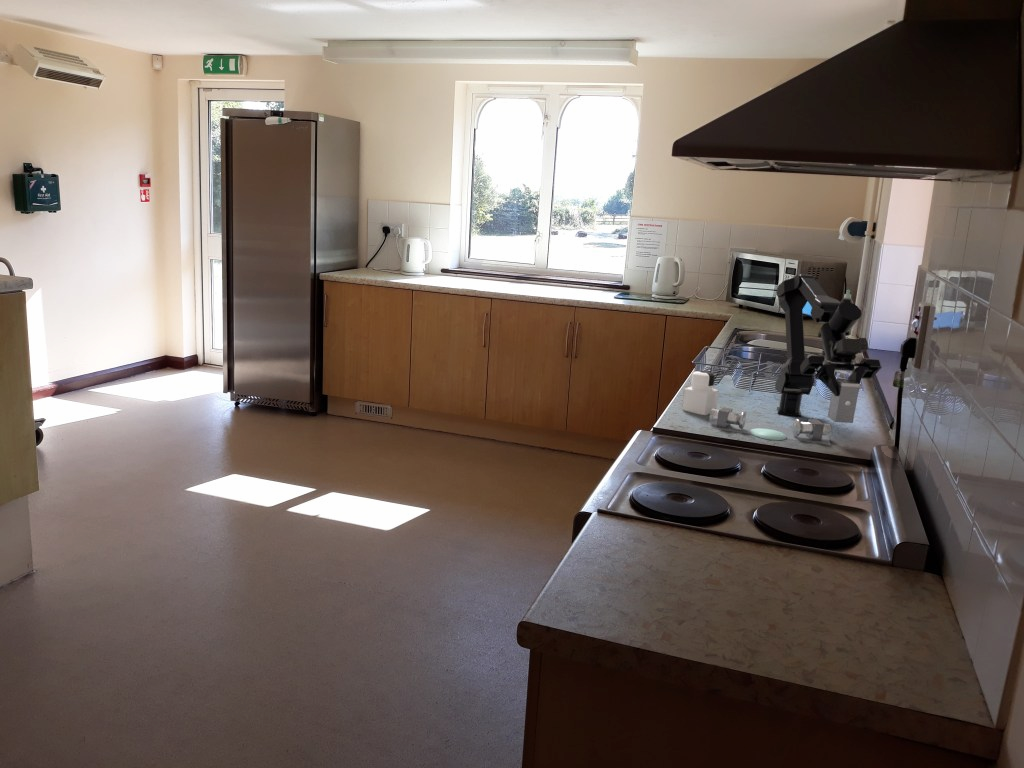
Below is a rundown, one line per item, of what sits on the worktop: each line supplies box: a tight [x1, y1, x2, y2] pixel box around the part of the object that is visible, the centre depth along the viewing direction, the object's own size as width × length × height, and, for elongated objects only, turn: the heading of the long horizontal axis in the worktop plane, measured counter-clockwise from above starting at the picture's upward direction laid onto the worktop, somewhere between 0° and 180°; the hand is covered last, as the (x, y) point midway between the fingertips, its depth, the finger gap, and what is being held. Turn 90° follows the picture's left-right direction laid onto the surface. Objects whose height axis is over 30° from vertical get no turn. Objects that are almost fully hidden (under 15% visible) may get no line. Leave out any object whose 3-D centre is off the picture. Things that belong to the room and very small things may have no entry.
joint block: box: [827, 378, 861, 424], centre depth 204 cm, size 5×5×10 cm
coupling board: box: [707, 417, 832, 446], centre depth 211 cm, size 14×30×1 cm, turn 75°
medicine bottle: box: [681, 370, 719, 416], centre depth 227 cm, size 7×7×12 cm
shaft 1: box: [709, 406, 747, 429], centre depth 213 cm, size 8×5×5 cm, turn 60°
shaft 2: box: [791, 418, 832, 441], centre depth 208 cm, size 8×5×5 cm, turn 90°
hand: (846, 395), depth 202 cm, fingers closed on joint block, 4 cm apart
